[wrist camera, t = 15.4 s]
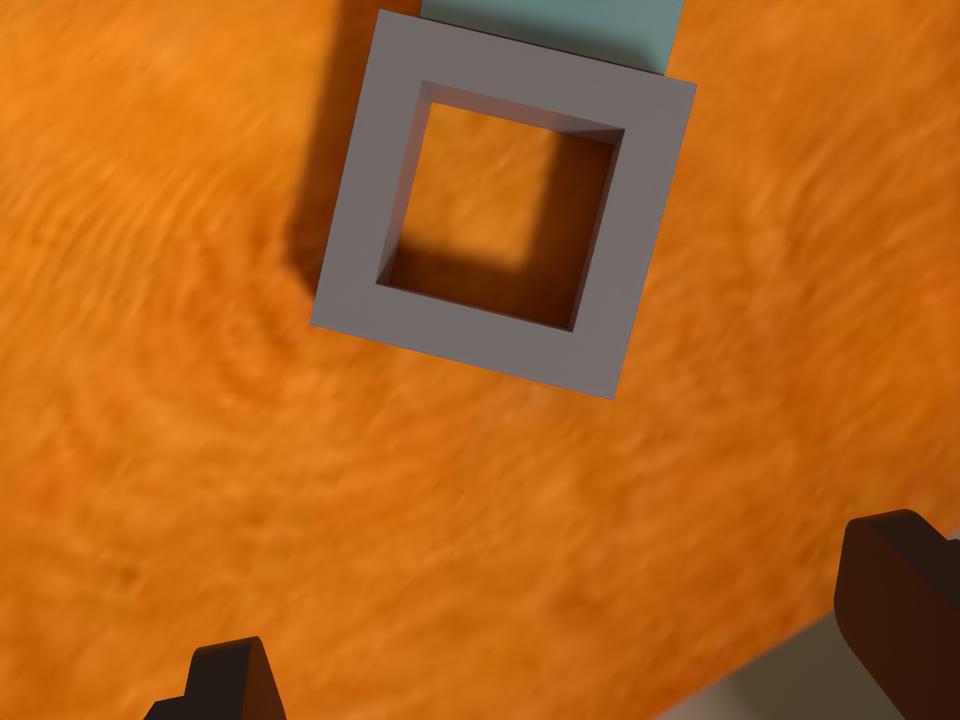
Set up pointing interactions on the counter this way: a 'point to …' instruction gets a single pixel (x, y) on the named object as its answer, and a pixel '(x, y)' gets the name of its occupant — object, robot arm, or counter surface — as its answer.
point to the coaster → (573, 26)
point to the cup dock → (525, 99)
